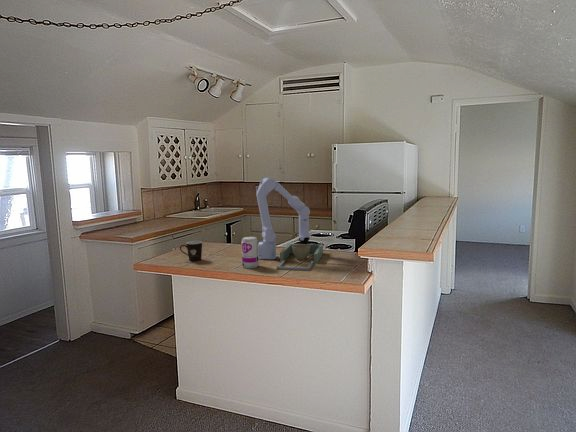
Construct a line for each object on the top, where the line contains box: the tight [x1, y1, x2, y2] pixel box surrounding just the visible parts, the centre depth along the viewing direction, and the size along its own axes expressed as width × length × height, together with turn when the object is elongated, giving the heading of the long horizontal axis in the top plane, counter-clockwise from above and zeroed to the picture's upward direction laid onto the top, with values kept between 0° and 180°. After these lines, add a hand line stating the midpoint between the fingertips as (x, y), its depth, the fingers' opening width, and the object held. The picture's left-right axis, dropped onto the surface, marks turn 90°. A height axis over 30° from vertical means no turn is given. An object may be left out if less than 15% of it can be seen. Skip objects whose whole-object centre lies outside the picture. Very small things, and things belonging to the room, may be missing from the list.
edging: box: [276, 259, 315, 272], centre depth 217 cm, size 16×14×1 cm
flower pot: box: [292, 243, 310, 261], centre depth 232 cm, size 10×10×7 cm
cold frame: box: [279, 243, 324, 264], centre depth 235 cm, size 20×23×5 cm
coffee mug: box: [179, 240, 203, 263], centre depth 235 cm, size 12×9×10 cm
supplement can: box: [240, 236, 259, 269], centre depth 218 cm, size 8×8×15 cm
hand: (304, 250), depth 241 cm, fingers closed
